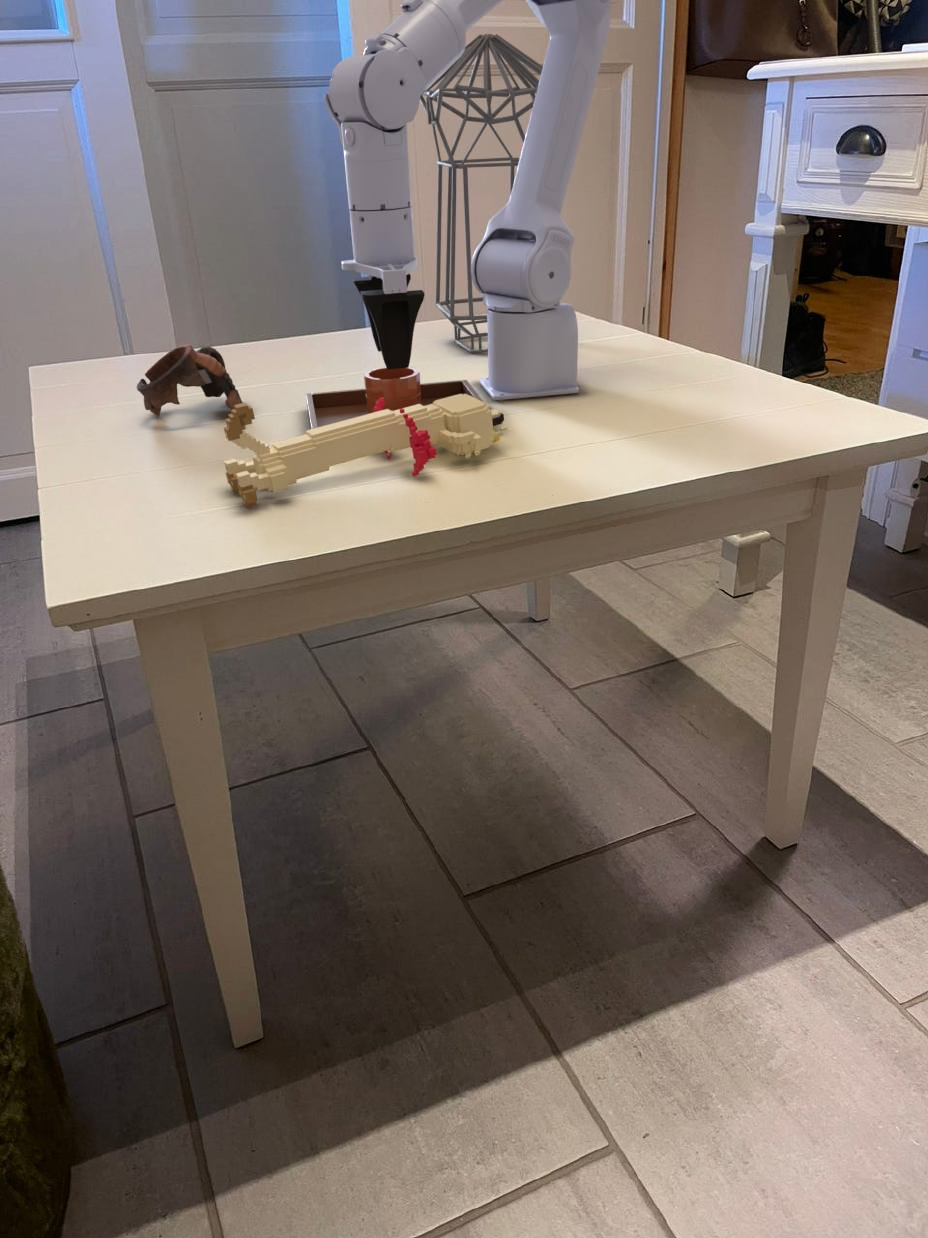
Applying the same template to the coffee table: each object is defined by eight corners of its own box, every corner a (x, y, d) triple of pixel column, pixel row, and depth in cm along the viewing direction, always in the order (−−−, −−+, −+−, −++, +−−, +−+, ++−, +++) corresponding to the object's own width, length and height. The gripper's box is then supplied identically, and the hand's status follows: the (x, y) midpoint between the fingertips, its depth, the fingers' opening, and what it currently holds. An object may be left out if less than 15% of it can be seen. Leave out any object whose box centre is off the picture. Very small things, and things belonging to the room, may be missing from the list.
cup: (417, 407, 97) (414, 364, 95) (425, 422, 92) (423, 377, 90) (365, 412, 96) (361, 368, 94) (371, 428, 92) (367, 382, 89)
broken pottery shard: (239, 431, 95) (185, 366, 91) (171, 467, 99) (115, 407, 94) (264, 372, 104) (216, 310, 99) (200, 407, 108) (151, 349, 103)
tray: (467, 397, 102) (466, 379, 101) (493, 433, 90) (493, 412, 89) (308, 412, 99) (305, 393, 98) (314, 450, 88) (311, 429, 87)
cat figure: (259, 533, 74) (531, 450, 82) (233, 426, 69) (523, 351, 78) (226, 494, 82) (477, 423, 90) (201, 397, 77) (467, 331, 86)
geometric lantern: (423, 338, 129) (406, 40, 112) (531, 327, 132) (531, 36, 116) (451, 363, 116) (436, 29, 99) (571, 351, 119) (576, 26, 102)
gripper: (331, 203, 91) (345, 346, 97) (342, 218, 78) (358, 380, 85) (403, 199, 92) (412, 340, 98) (426, 212, 79) (435, 373, 86)
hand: (392, 358), depth 92 cm, fingers open, 7 cm apart
